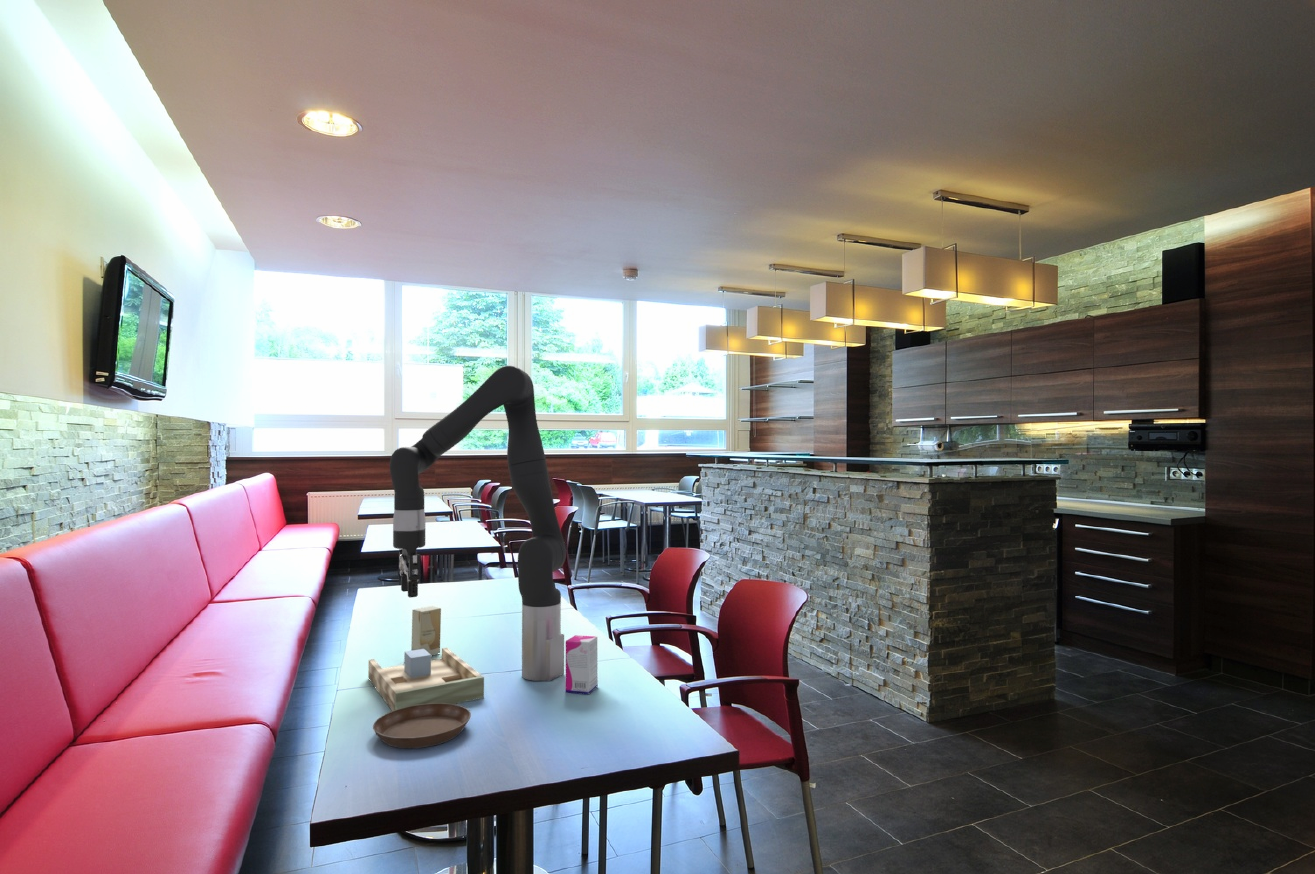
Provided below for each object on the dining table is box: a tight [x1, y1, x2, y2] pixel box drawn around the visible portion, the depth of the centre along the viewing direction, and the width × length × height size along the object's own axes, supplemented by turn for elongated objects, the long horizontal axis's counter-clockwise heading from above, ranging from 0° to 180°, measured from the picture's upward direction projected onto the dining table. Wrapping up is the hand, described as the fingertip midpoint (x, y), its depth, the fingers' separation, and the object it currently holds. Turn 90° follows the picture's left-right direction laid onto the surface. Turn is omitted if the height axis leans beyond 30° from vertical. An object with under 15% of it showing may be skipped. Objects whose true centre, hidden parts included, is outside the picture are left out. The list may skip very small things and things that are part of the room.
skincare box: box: [410, 605, 442, 657], centre depth 183 cm, size 6×4×12 cm
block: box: [403, 649, 432, 678], centre depth 162 cm, size 6×4×4 cm
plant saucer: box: [372, 703, 472, 749], centre depth 133 cm, size 18×18×3 cm
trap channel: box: [367, 647, 485, 712], centre depth 158 cm, size 27×18×4 cm
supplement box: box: [565, 634, 599, 695], centre depth 157 cm, size 6×6×12 cm
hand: (409, 594), depth 171 cm, fingers open, 8 cm apart
